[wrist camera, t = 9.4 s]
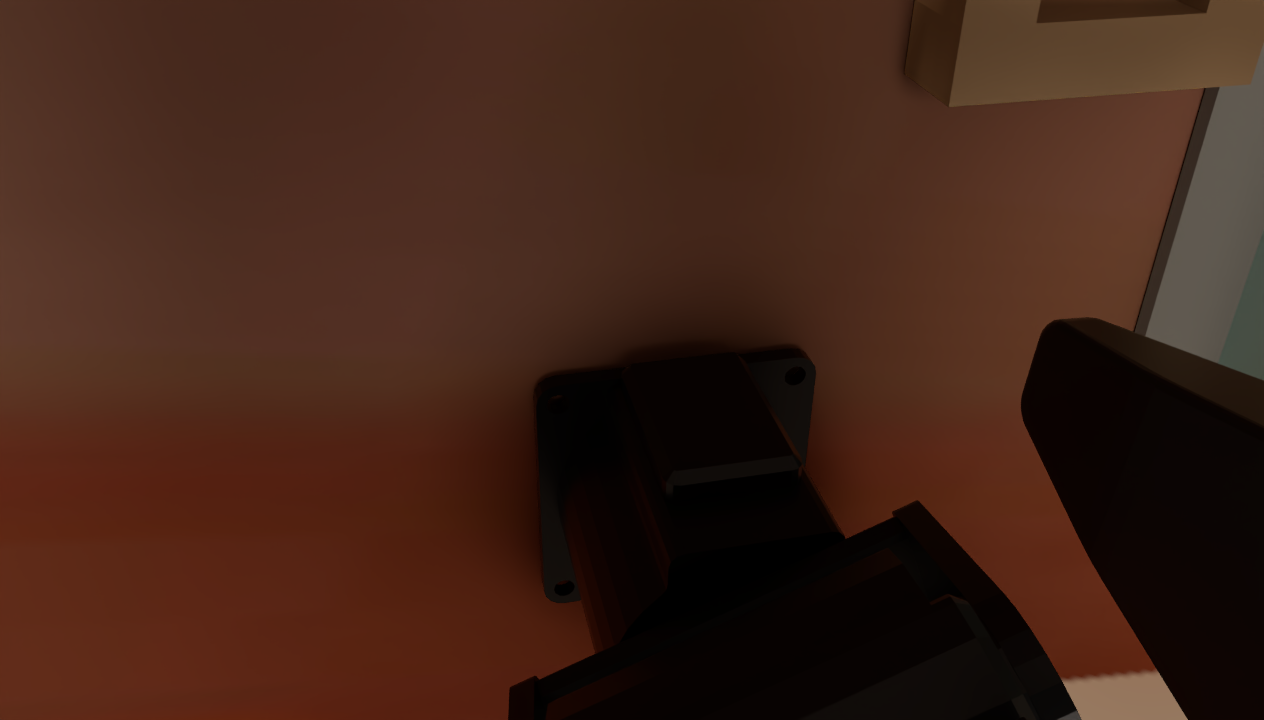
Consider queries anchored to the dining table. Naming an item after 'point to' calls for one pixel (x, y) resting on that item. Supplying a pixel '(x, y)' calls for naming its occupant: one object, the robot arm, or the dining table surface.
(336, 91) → the dining table surface
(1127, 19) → the rack
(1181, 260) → the mat
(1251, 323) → the panel
